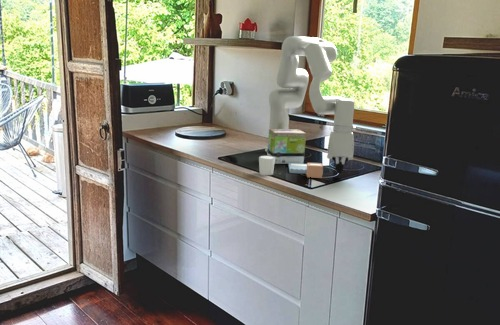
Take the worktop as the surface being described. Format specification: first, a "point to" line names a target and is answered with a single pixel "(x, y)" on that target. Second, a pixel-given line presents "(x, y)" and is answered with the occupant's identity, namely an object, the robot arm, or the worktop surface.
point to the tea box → (286, 145)
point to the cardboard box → (314, 170)
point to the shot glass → (266, 165)
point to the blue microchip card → (298, 168)
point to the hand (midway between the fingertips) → (338, 172)
